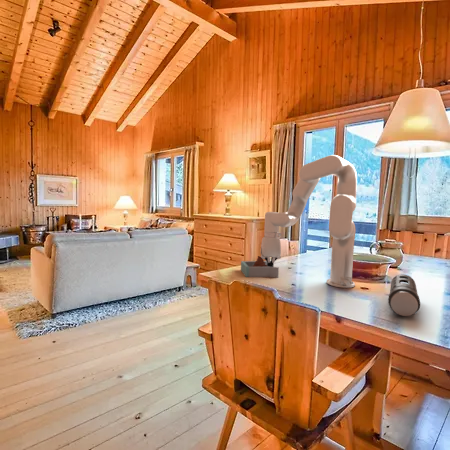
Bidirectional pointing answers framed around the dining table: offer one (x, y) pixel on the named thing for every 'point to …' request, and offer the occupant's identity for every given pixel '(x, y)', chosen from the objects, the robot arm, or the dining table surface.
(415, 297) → the muzzle brake
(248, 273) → the grey tray
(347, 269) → the robot arm
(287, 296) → the dining table surface
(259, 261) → the poop emoji
